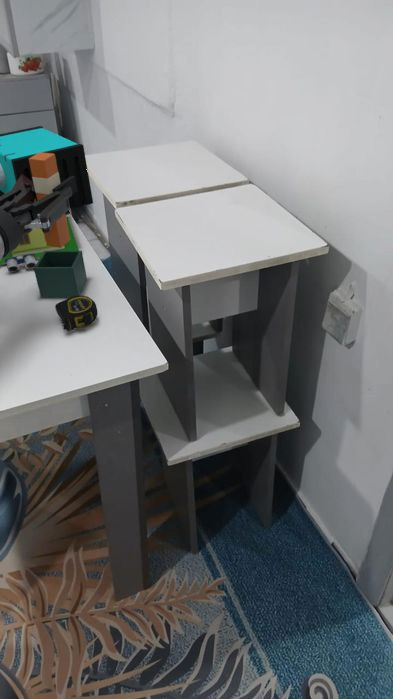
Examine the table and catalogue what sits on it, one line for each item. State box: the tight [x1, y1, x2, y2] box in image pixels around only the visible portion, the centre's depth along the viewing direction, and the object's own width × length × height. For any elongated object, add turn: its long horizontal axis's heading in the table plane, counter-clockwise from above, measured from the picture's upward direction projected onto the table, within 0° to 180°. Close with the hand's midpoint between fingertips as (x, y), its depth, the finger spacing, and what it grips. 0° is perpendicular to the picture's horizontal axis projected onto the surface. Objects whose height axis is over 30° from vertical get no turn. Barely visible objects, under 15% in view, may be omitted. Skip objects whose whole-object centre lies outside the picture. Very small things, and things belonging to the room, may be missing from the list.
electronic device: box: [0, 125, 94, 211], centre depth 137 cm, size 25×25×15 cm
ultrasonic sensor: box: [5, 253, 37, 273], centre depth 113 cm, size 6×2×3 cm, turn 108°
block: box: [29, 152, 70, 248], centre depth 96 cm, size 3×4×16 cm
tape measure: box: [54, 295, 99, 332], centre depth 96 cm, size 7×7×4 cm
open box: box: [33, 250, 88, 299], centre depth 105 cm, size 8×7×6 cm
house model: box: [0, 173, 80, 266], centre depth 120 cm, size 18×20×13 cm
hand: (65, 182), depth 99 cm, fingers closed on block, 3 cm apart
